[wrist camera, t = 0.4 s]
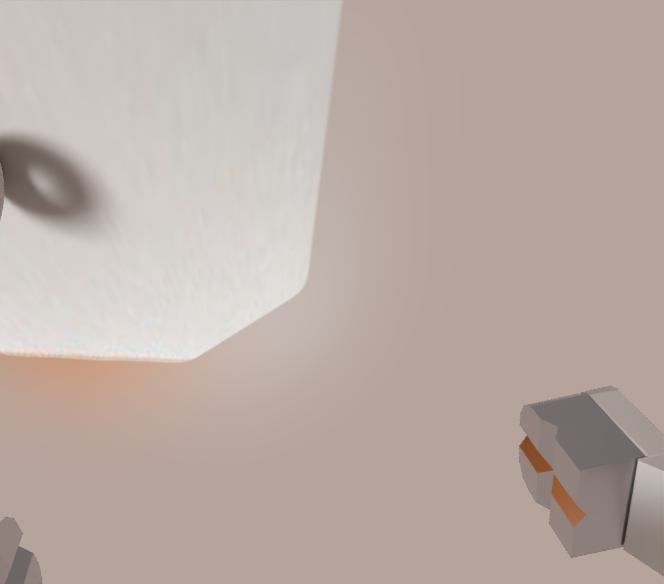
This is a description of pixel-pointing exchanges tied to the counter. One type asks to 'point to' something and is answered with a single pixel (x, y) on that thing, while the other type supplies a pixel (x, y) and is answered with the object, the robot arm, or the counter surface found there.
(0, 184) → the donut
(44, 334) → the counter surface
